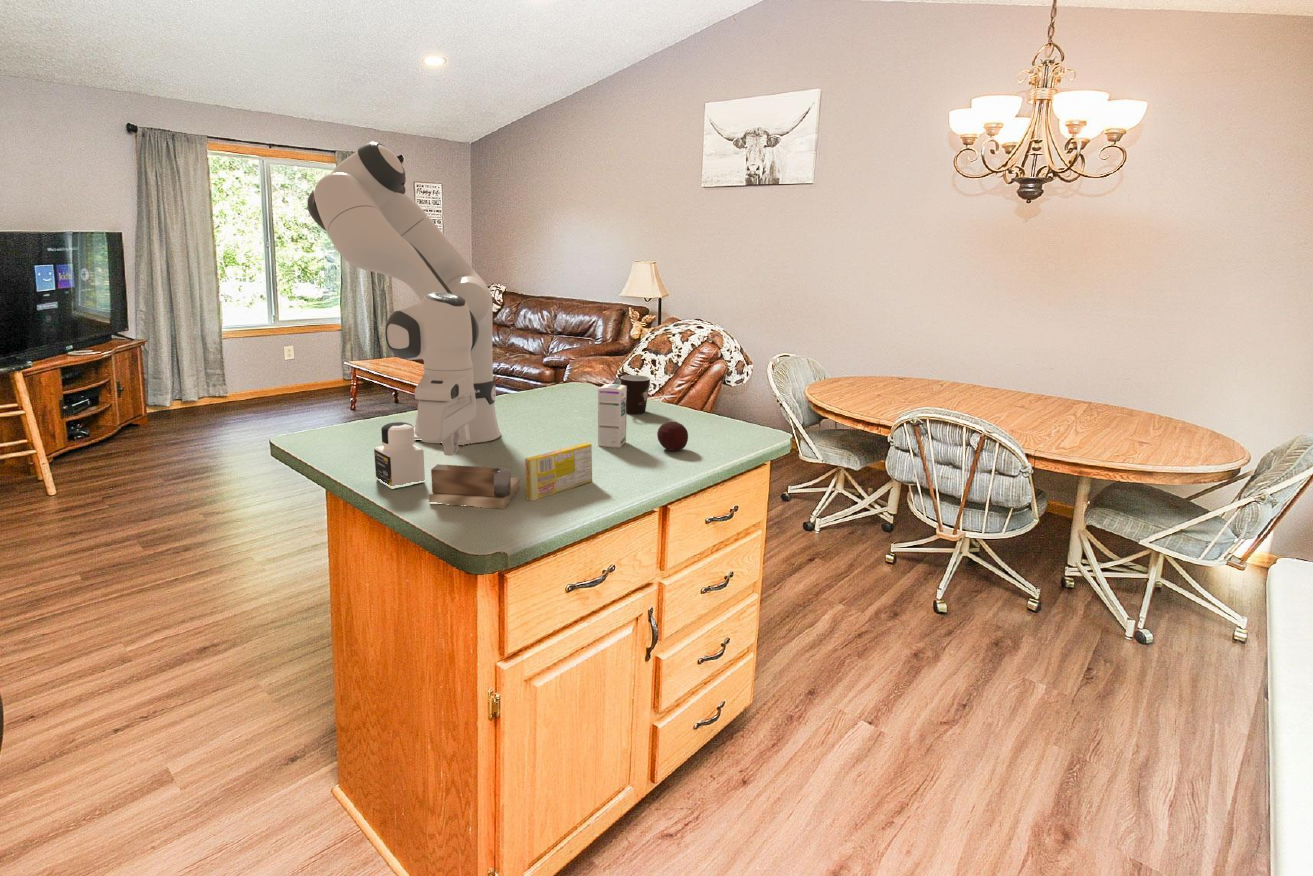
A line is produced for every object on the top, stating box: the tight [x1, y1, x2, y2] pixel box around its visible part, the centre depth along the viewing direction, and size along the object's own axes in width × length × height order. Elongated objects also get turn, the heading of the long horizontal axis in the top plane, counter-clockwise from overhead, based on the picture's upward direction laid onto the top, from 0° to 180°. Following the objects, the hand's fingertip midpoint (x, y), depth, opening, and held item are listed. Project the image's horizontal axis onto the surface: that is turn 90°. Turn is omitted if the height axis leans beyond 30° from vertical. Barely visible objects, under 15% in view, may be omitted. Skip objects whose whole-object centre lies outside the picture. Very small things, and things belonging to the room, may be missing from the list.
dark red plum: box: [656, 421, 689, 452], centre depth 176 cm, size 7×8×7 cm
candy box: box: [524, 442, 593, 501], centre depth 145 cm, size 16×2×8 cm, turn 139°
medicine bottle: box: [373, 421, 426, 486], centre depth 145 cm, size 7×7×12 cm
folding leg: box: [430, 463, 512, 497], centre depth 136 cm, size 14×4×4 cm, turn 86°
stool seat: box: [428, 477, 521, 510], centre depth 141 cm, size 14×12×2 cm
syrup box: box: [597, 383, 627, 449], centre depth 177 cm, size 6×6×14 cm
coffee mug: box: [620, 374, 651, 415], centre depth 211 cm, size 12×9×10 cm
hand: (451, 453), depth 140 cm, fingers closed
